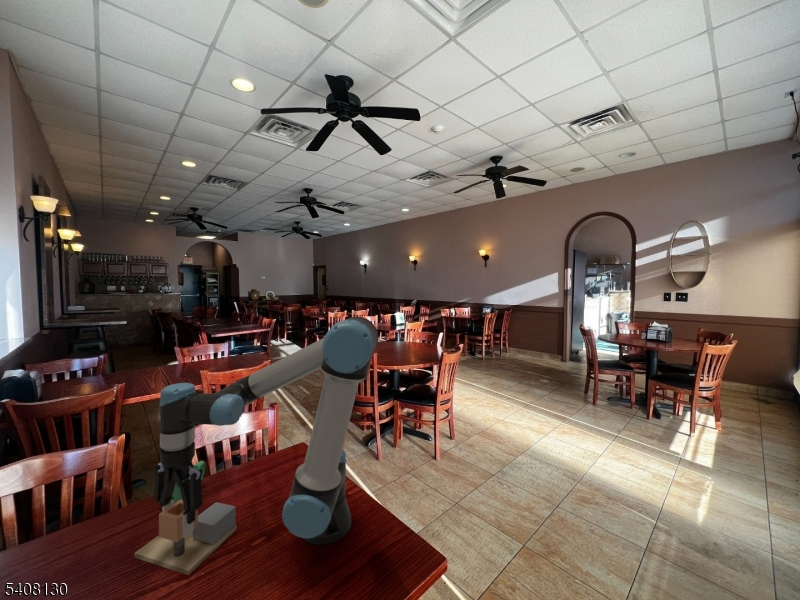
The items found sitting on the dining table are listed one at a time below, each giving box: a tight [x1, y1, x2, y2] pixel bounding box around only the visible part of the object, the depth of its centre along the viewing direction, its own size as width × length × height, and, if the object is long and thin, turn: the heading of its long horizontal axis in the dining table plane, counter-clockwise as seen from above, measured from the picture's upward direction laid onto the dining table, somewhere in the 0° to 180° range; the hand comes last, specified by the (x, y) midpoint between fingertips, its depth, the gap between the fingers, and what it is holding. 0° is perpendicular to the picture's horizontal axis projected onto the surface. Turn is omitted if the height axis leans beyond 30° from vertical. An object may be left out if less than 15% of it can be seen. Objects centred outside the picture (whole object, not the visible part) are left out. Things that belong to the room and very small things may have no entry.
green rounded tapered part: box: [170, 460, 207, 504], centre depth 110 cm, size 15×10×10 cm
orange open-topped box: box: [158, 500, 199, 542], centre depth 86 cm, size 6×6×6 cm
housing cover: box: [193, 501, 237, 544], centre depth 94 cm, size 7×8×5 cm
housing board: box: [133, 524, 238, 576], centre depth 91 cm, size 18×16×6 cm
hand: (178, 530), depth 86 cm, fingers closed on orange open-topped box, 6 cm apart
